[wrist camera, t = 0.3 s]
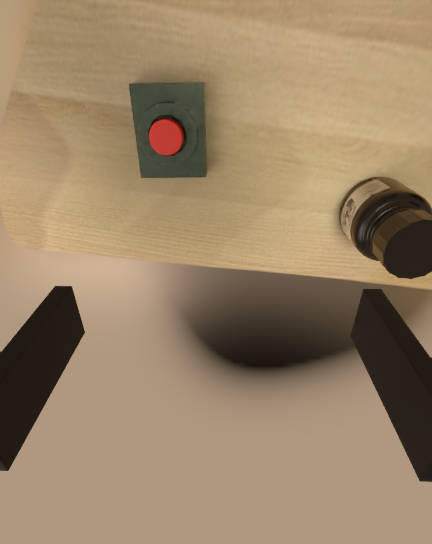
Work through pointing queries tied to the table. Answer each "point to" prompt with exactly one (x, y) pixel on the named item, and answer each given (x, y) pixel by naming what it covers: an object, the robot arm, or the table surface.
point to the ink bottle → (390, 226)
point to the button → (166, 136)
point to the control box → (182, 108)
